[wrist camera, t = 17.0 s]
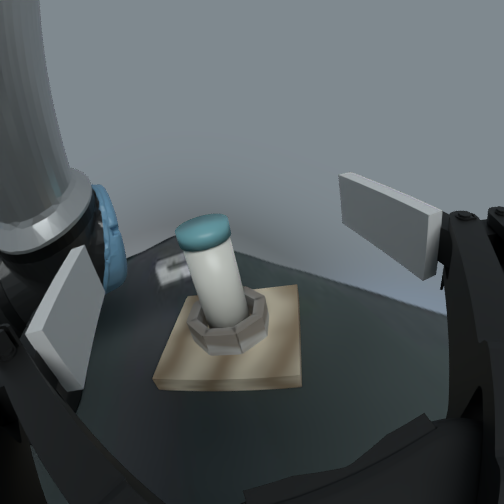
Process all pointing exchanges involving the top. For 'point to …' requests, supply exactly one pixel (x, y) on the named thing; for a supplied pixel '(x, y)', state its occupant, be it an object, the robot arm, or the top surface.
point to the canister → (213, 269)
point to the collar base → (236, 347)
